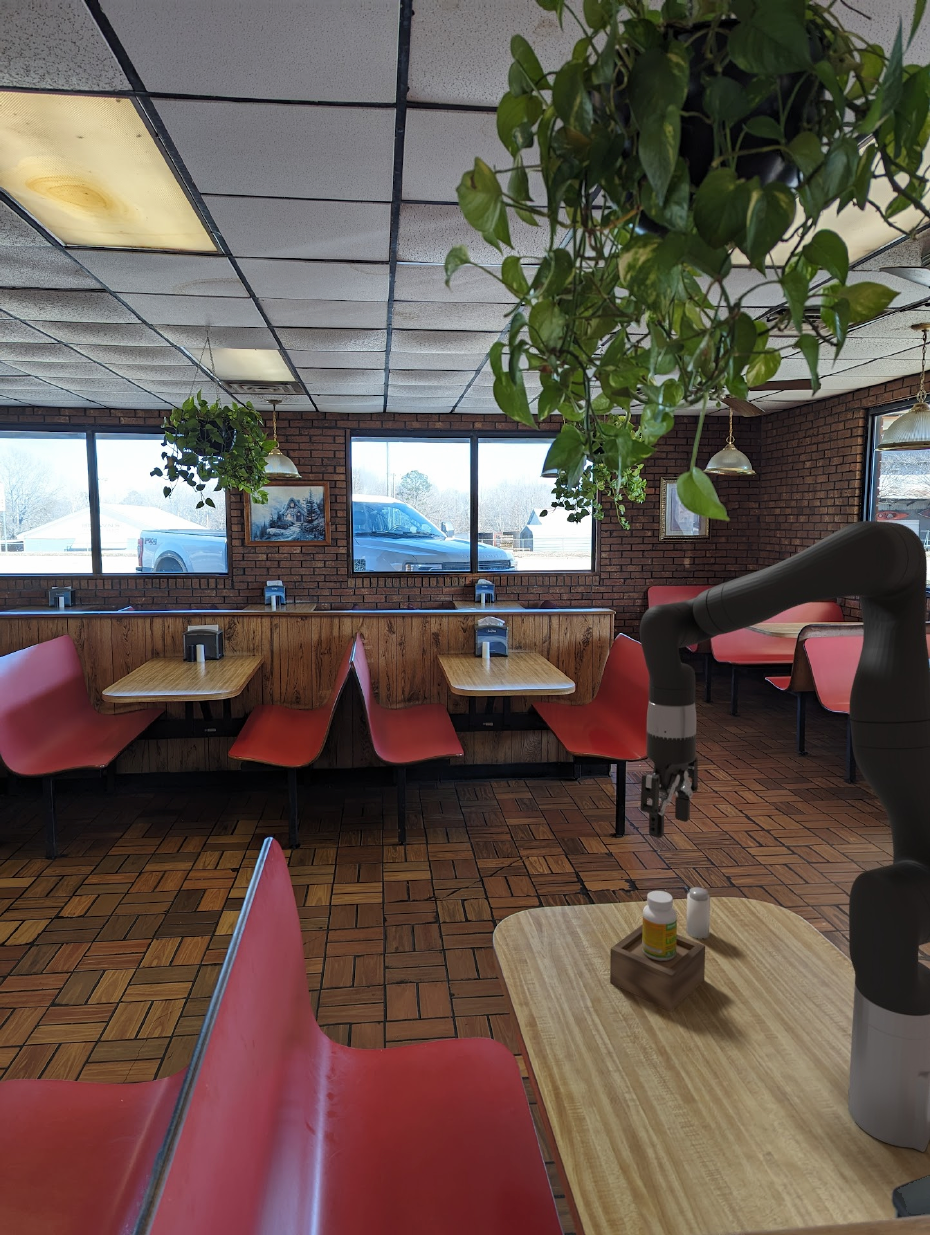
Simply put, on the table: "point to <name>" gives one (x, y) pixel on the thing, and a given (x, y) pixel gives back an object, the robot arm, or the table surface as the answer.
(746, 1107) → the table surface
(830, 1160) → the table surface
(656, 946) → the supplement bottle
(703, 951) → the walnut tray
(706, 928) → the sugar shaker
